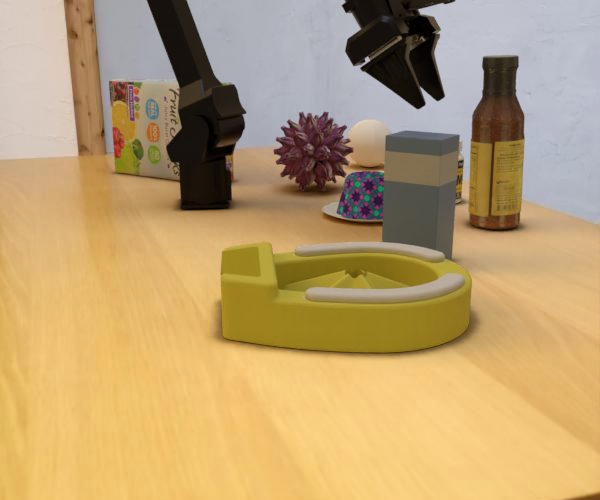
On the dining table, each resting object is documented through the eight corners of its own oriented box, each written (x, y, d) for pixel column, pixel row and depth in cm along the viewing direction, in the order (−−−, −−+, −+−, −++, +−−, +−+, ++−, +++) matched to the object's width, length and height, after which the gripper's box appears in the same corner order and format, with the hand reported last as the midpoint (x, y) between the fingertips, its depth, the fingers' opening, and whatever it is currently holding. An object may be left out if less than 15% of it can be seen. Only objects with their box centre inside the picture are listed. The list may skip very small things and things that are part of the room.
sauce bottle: (523, 222, 98) (539, 54, 92) (514, 233, 93) (530, 56, 87) (471, 216, 101) (482, 53, 94) (459, 228, 96) (470, 55, 89)
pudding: (352, 230, 95) (353, 187, 93) (305, 210, 105) (305, 171, 103) (434, 219, 100) (436, 178, 98) (382, 201, 110) (383, 163, 108)
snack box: (236, 180, 124) (233, 81, 119) (214, 186, 120) (210, 83, 115) (136, 168, 135) (130, 76, 130) (112, 173, 131) (105, 78, 126)
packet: (380, 261, 82) (384, 135, 78) (400, 251, 86) (405, 130, 82) (434, 271, 79) (441, 139, 75) (452, 260, 83) (460, 134, 78)
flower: (272, 194, 122) (343, 173, 125) (296, 207, 111) (373, 184, 114) (255, 119, 118) (328, 100, 121) (278, 125, 107) (358, 103, 110)
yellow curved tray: (224, 287, 75) (223, 236, 73) (442, 282, 76) (445, 231, 74) (221, 357, 59) (219, 294, 57) (494, 349, 60) (499, 286, 59)
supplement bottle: (460, 205, 107) (465, 142, 105) (425, 203, 108) (428, 141, 105) (461, 198, 112) (465, 137, 109) (427, 196, 113) (430, 136, 110)
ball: (342, 163, 139) (343, 116, 136) (387, 162, 140) (389, 116, 137) (350, 171, 132) (350, 122, 129) (397, 170, 132) (399, 121, 130)
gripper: (400, -70, 78) (478, 69, 79) (443, -56, 94) (507, 59, 96) (312, -3, 84) (386, 127, 85) (367, 0, 100) (429, 108, 101)
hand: (432, 103), depth 91 cm, fingers open, 9 cm apart
